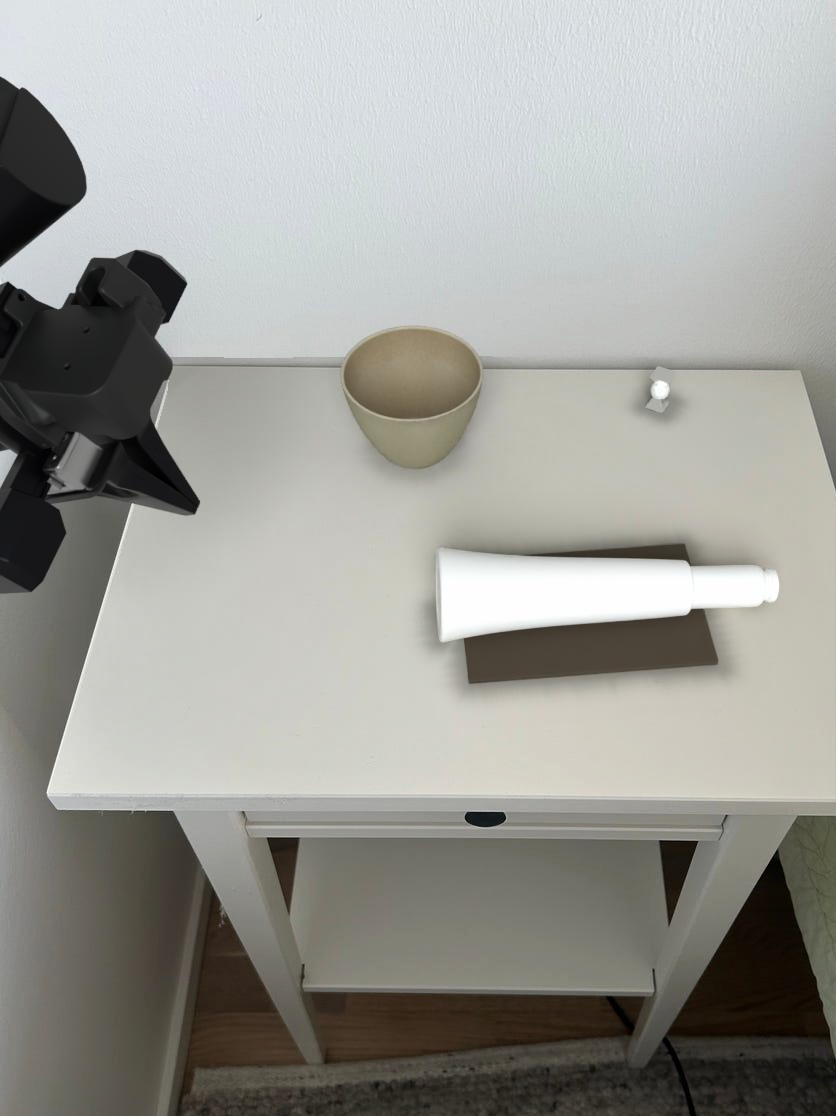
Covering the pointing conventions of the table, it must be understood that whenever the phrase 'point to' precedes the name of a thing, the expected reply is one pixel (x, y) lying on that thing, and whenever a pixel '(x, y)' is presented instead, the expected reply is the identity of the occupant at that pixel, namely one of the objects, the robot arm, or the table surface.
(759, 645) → the table surface
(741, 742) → the table surface
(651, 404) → the wrapped candy
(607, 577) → the cosmetic bottle
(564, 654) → the mat
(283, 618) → the table surface
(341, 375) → the bowl
